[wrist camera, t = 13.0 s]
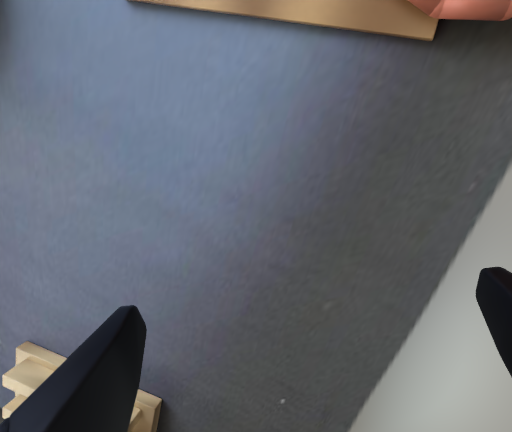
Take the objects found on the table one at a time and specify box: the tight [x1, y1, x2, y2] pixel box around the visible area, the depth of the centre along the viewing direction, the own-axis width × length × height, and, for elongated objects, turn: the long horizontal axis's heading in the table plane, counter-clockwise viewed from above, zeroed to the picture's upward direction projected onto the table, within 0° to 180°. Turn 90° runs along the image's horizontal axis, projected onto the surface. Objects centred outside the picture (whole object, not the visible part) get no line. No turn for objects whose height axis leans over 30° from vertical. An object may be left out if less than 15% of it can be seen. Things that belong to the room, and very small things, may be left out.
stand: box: [3, 341, 162, 432], centre depth 27 cm, size 12×5×3 cm, turn 78°
